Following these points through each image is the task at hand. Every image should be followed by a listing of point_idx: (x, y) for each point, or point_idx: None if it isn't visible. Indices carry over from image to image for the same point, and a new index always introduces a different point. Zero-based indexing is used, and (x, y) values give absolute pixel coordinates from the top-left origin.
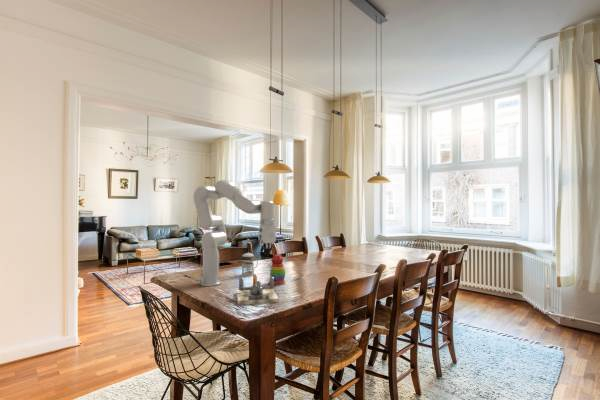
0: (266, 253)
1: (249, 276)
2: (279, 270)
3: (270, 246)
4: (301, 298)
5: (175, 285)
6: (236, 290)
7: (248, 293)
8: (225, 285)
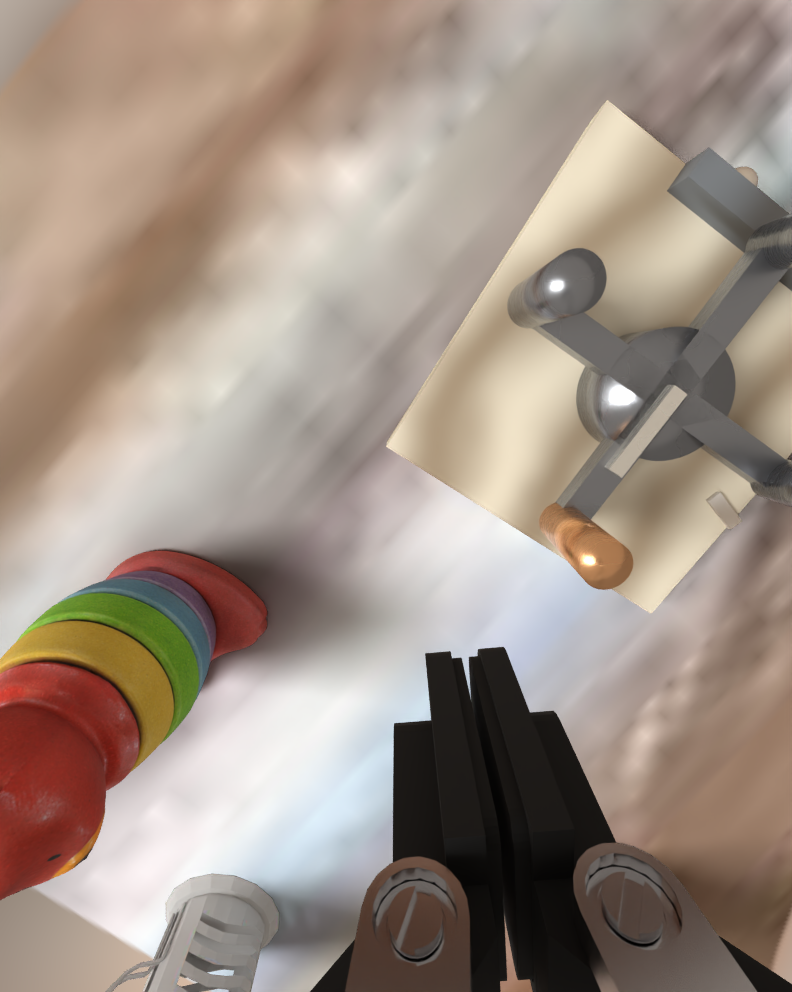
0: (530, 714)
1: (237, 883)
2: (118, 630)
3: (381, 944)
4: (337, 42)
5: None
6: (664, 595)
7: None
8: None
